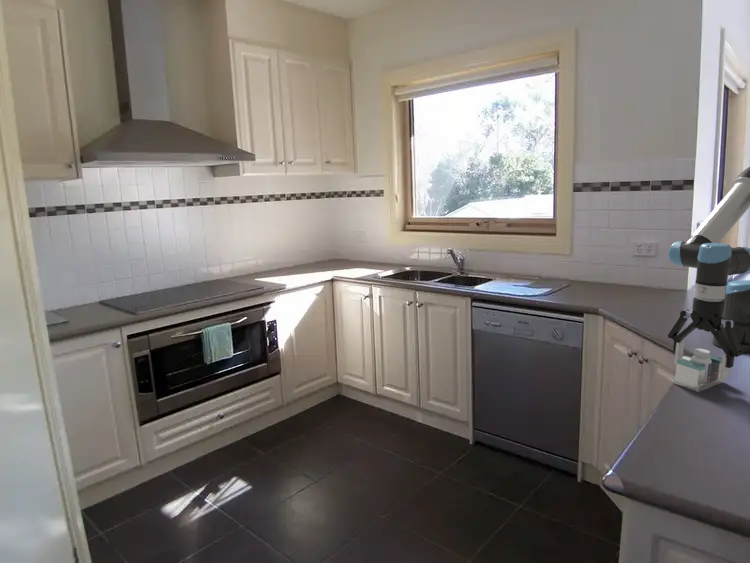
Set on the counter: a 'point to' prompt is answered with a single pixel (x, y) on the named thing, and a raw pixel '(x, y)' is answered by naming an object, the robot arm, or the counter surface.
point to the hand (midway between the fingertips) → (700, 370)
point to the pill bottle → (703, 361)
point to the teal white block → (697, 374)
